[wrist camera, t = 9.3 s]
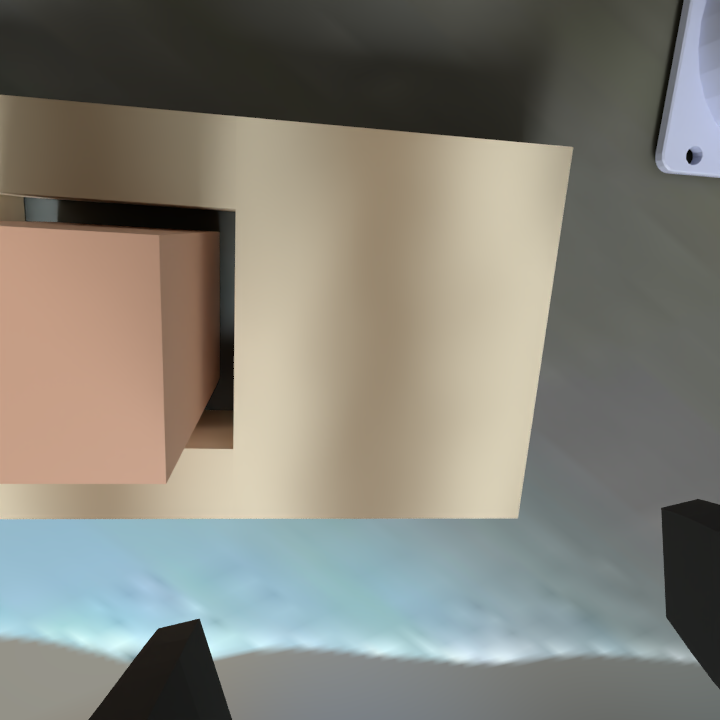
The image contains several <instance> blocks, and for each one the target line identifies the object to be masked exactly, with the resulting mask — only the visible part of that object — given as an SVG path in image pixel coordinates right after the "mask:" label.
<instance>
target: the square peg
mask: <svg viewBox="0 0 720 720" xmlns="http://www.w3.org/2000/svg"><path fill="white" fill-rule="evenodd" d="M219 379H220V232H216V231H199V230H182V229H165V228H148V227H132V226H115V225H98V224H81V223H64V222H28V221H0V484H166V483H167V482H168V480H169V478H170V476H171V474H172V472H173V470H174V468H175V466H176V464H177V462H178V460H179V458H180V456H181V454H182V452H183V450H184V448H185V446H186V444H187V442H188V440H189V438H190V436H191V434H192V432H193V430H194V428H195V426H196V424H197V423H198V421H199V419H200V417H201V415H202V413H203V411H204V409H205V407H206V405H207V403H208V401H209V399H210V397H211V395H212V393H213V391H214V389H215V387H216V385H217V383H218V381H219Z"/></svg>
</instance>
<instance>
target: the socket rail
mask: <svg viewBox="0 0 720 720" xmlns="http://www.w3.org/2000/svg"><path fill="white" fill-rule="evenodd" d="M572 151H573V147H566V146H555V145H544V144H533V143H523V142H512V141H501V140H490V139H479V138H468V137H457V136H446V135H435V134H424V133H413V132H403V131H392V130H381V129H370V128H359V127H348V126H337V125H326V124H315V123H304V122H293V121H282V120H272V119H261V118H250V117H239V116H228V115H217V114H206V113H195V112H184V111H173V110H162V109H152V108H141V107H130V106H119V105H108V104H97V103H86V102H75V101H64V100H53V99H42V98H31V97H21V96H10V95H0V221H25V209H24V197H31V198H46V199H60V200H74V201H89V202H103V203H117V204H132V205H146V206H161V207H175V208H189V209H204V210H218V211H233V212H236V224H235V328H234V410H204V411H203V413H202V415H201V417H200V419H199V421H198V423H197V424H196V426H195V428H194V430H193V432H192V434H191V436H190V438H189V440H188V442H187V444H186V446H185V448H184V450H183V452H182V454H181V456H180V458H179V460H178V462H177V464H176V466H175V468H174V470H173V472H172V474H171V476H170V478H169V480H168V482H167V483H166V484H0V519H371V518H518V513H519V507H520V500H521V493H522V487H523V480H524V473H525V466H526V460H527V453H528V446H529V440H530V433H531V426H532V419H533V413H534V406H535V399H536V393H537V386H538V379H539V373H540V366H541V359H542V352H543V346H544V339H545V332H546V326H547V319H548V312H549V306H550V299H551V292H552V285H553V279H554V272H555V265H556V259H557V252H558V245H559V239H560V232H561V225H562V218H563V212H564V205H565V198H566V192H567V185H568V178H569V171H570V165H571V158H572Z"/></svg>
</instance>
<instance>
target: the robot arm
mask: <svg viewBox="0 0 720 720" xmlns="http://www.w3.org/2000/svg"><path fill="white" fill-rule="evenodd" d="M689 149H690V150H691V151H692V153H693V159H692V161H691V163H690V164H688V162H687V160H686V154H687V151H688V150H689ZM655 161H656V164H657V167H658V168H659V169H660V170H661V171H662V172H665V173H671V174H682V175H694V176H705V177H717V178H720V0H684V2H683V7H682V13H681V18H680V24H679V29H678V35H677V40H676V45H675V51H674V56H673V62H672V67H671V73H670V78H669V84H668V89H667V94H666V100H665V105H664V111H663V116H662V122H661V127H660V133H659V138H658V143H657V149H656V154H655ZM661 510H662V533H663V555H664V577H665V599H666V617H667V619H668V620H669V622H670V623H671V624H672V626H673V627H674V629H675V630H676V631H677V633H678V634H679V636H680V637H681V639H682V640H683V641H684V643H685V644H686V646H687V647H688V648H689V650H690V651H691V653H692V654H693V655H694V657H695V658H696V659H697V661H698V662H699V663H700V665H701V666H702V667H703V669H704V670H705V671H706V672H707V673H708V675H709V677H710V678H711V679H712V681H713V682H714V683H715V684H716V685H717V686H718V688H719V689H720V505H718V504H715V503H711V502H708V501H704V500H700V499H697V500H692V501H688V502H684V503H680V504H676V505H672V506H667V507H663V508H661ZM89 720H232V718H231V715H230V712H229V709H228V706H227V703H226V699H225V696H224V693H223V690H222V687H221V684H220V681H219V678H218V675H217V672H216V669H215V665H214V662H213V659H212V656H211V653H210V650H209V647H208V643H207V640H206V637H205V634H204V631H203V628H202V625H201V622H200V619H196V620H192V621H188V622H184V623H179V624H175V625H171V626H167V627H163V628H159V629H158V630H157V631H156V632H155V633H154V635H153V636H152V637H151V638H150V639H149V641H148V642H147V643H146V645H145V646H144V647H143V648H142V650H141V651H140V652H139V654H138V655H137V656H136V658H135V659H134V660H133V662H132V663H131V664H130V666H129V667H128V668H127V670H126V671H125V672H124V674H123V675H122V676H121V678H120V679H119V680H118V682H117V683H116V684H115V686H114V687H113V688H112V690H111V691H110V692H109V694H108V695H107V696H106V698H105V699H104V700H103V702H102V703H101V704H100V705H99V707H98V708H97V709H96V711H95V712H94V713H93V715H92V716H91V717H90V718H89Z"/></svg>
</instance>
